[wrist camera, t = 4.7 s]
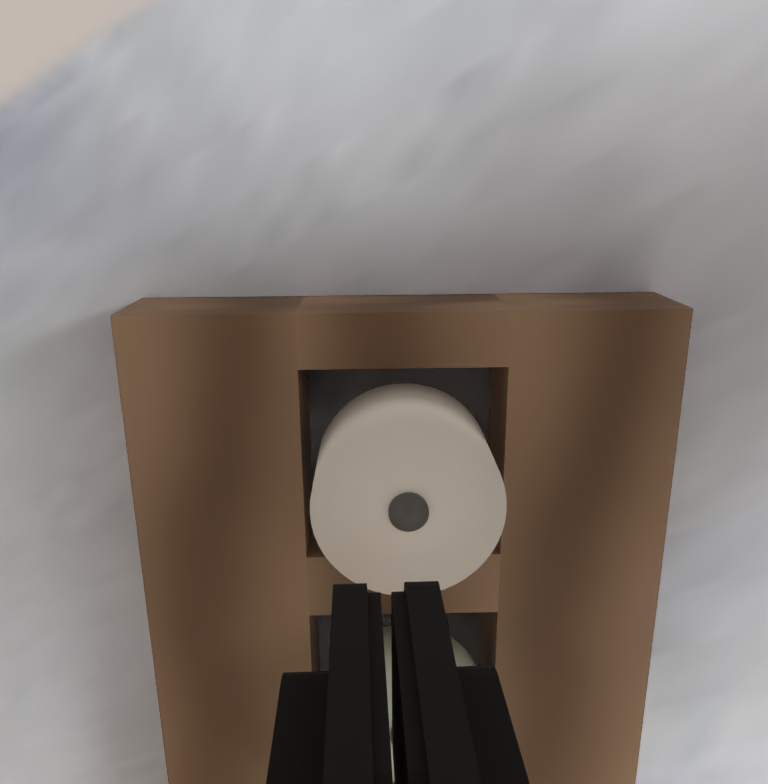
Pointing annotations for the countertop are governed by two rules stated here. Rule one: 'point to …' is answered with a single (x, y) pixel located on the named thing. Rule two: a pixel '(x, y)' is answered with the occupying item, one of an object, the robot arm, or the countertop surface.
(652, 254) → the countertop surface
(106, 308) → the countertop surface
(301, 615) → the button panel
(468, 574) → the one pip button
